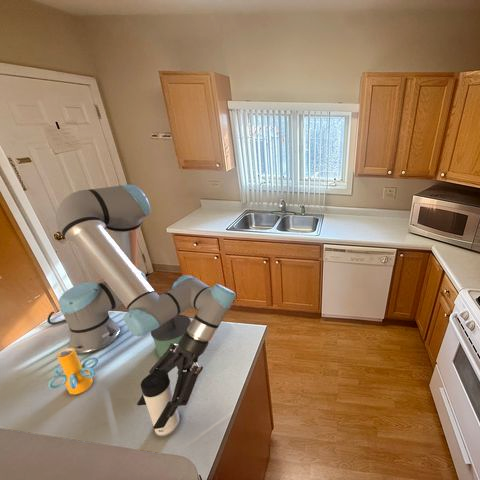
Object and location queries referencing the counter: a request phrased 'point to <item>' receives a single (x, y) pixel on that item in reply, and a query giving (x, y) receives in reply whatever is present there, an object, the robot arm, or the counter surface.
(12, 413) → the counter surface
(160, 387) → the travel mug
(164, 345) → the cup
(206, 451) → the counter surface
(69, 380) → the orange toy with loops
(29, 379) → the counter surface
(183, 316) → the lid
